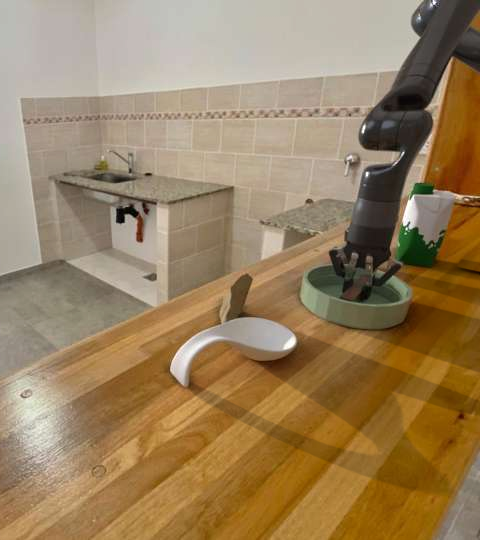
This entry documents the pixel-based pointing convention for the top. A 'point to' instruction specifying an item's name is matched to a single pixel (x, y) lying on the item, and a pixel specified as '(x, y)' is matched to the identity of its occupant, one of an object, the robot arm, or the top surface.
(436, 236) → the milk carton
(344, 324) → the bowl
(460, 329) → the top surface
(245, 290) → the rock
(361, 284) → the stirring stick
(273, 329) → the spoon rest
